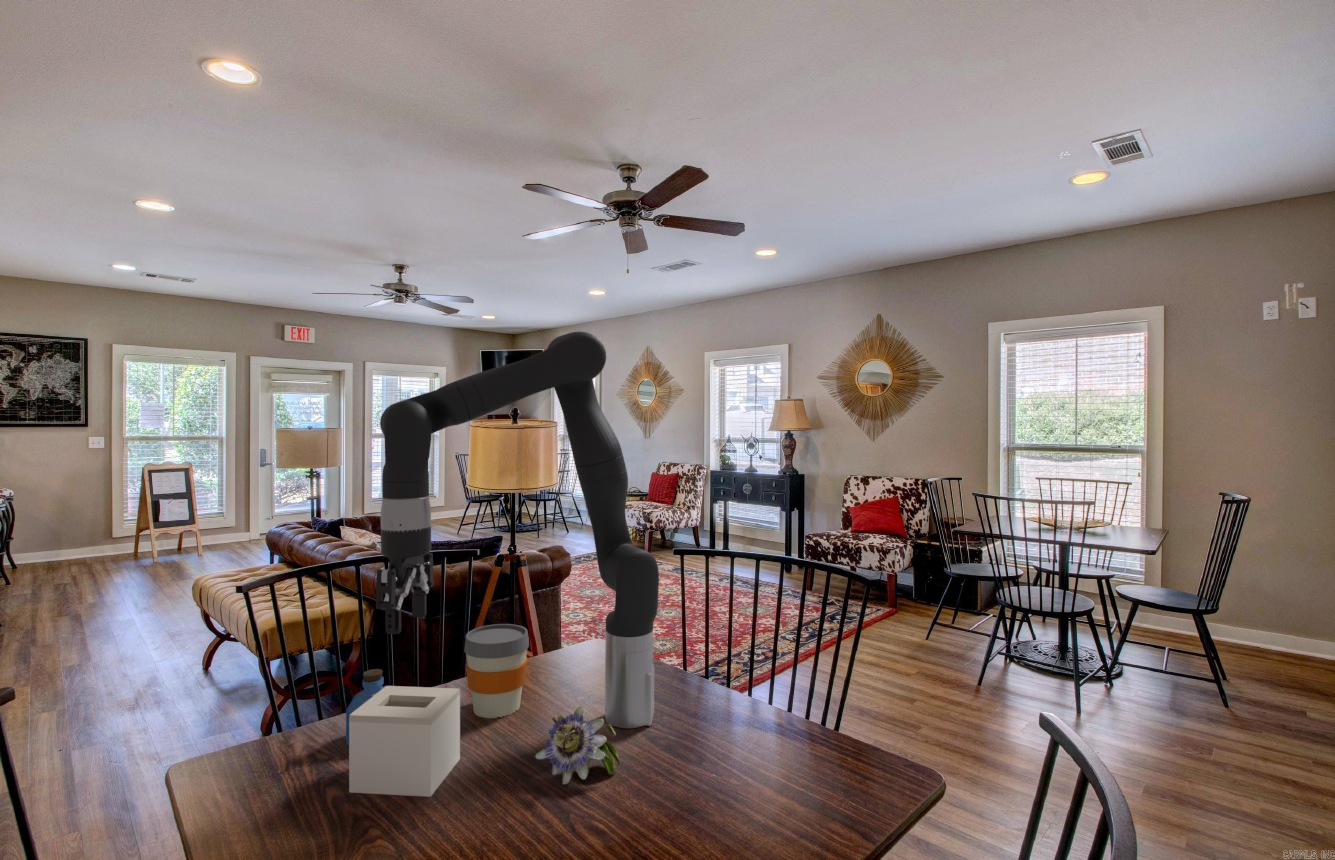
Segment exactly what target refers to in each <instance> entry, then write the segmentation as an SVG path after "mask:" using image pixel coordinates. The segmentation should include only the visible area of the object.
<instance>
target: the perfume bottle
mask: <svg viewBox="0 0 1335 860" xmlns="http://www.w3.org/2000/svg"><path fill="white" fill-rule="evenodd" d="M383 672H384V671H383V670H382V669H379V668H374V669H369V670H367V671H364V672H363V679H362V687H363V688H364V689H363V690H361V691H359V692H357V693H356V694H355V695H354V696H353V699H352V700H351V702H350V703H349V705H348V707H347V708H346V711H345V726H346V727H345V745H346V746H349V715H350V714H351V713H353V712H354V711H355V710H356V709H358V708H359V707H360V706H361V705H363V704H364V703H365V702H366V701H368V700H369V699H370V698H372V697H373V696H374V695H375V694H377V693H378V692H379V691H380V690H382V689H383V688H384V687H385V686H383V685H384V676H382V675H383Z"/></svg>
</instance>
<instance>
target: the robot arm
mask: <svg viewBox="0 0 1335 860" xmlns="http://www.w3.org/2000/svg"><path fill="white" fill-rule="evenodd" d="M606 362H607V351H606V348H605V345H604V344H603V342H602V341H601V339H599V338H598V337H597V336H596V335H594V334H593V333H590V332H586V331H573V332H568V333H564V334H561V335H559V336H557V337H555V338H554V339H553V340H551V342H550V343H549V344H548V346H547V348H546V349H545V350H543V351H541V352H538V353H536V354H534V355H532V356H529V357H526V358H524V359H521V360H518V361H515V362H511V363H508V364H505V365H502V366H497V367H493V368H491V369H487V370H483V371H479V372H477V373H474V374H471V375H469V376H465V377H463V378H461V379H458V380H455V381H453V382H450V383H448V384H445V385H444V386H440V387H439V388H437V389H435V390H433V391H430V392H429V391H428V392H426V393H422V394H418V395H416V396H413V397H409V398H406V399H403V400H400V401H397V402H395V403H393V404H392V403H391V404H390V405H388V406H387V407H386V408H385V410H384V411H383V412H382V414H381V416H380V420H379V421H380V422H379V424H380V425H379V427H380V430H381V432H382V434H383V435H384V459H385V460H384V465H383V468H382V474H381V475H382V476H381V480H382V482H381V489H382V493H381V497H382V499H381V500H382V502H381V507H380V554H381V555H382V556H383V557H385V558H387V559H388V560H389V564H388V568H387V569H383V568H382V569H379V568H378V570H377V572H376V589H375V590H376V591H375V608H376V609H377V610H383V611H384V612H385V613H384V615H385V616H384V618H385V619H384V620H385V621H384V623H385V624H384V626H385V633H386V634H387V635H399V634H401V632H402V609H401V608H402V606H403V602H404V598H406V597H407V596H409V592H410V591H411V593H412V595H411V616H412V617H413V618H425V617H427V614H428V613H427V594H429V593H430V592H429V591H430V588H433V587H434V585H435V584H434V581H435V580H434V559H433V558H434V557H433V556H434V554H433V553H432V552H431V551H432V509H431V502H430V501H431V500H430V473H429V472H430V471H429V459H430V453H431V442H432V434H434V433H437V432H438V431H440V430H441V431H442V430H443V429H446V428H448V427H453V426H458V425H462V424H466V423H468V422H470V421H473V420H475V419H477V418H481V417H483V416H486V415H488V414H490V413H493V412H494V411H497V410H500V409H501V408H504V407H506V406H509V405H511V404H513V403H515V402H518V401H520V400H523V399H525V398H527V397H530V396H534V395H535V394H537V393H538V394H539V393H541V392H543V391H546V390H550V389H554V391H555V394H556V395H557V399H558V401H559V405H560V408H561V410H562V414H563V418H564V423H565V428H566V432H567V437H568V441H569V446H570V449H571V452H572V456H573V461H574V465H575V470H576V474H577V478H578V481H579V484H580V489H581V492H582V494H583V500H584V503H585V507H586V511H587V514H588V517H589V521H590V525H591V528H592V529H591V530H592V533H593V539H594V545H595V546H594V547H595V551H596V552H595V553H596V554H595V555H596V560H597V565H598V571H599V575H600V578H601V580H602V581H603V583H604V584H605V585H606V586H607V588H608V589H611V590H612V591H615V599H614V600H615V603H614V610H612V611H610V612H609V613H608V614H607V615H606V617H605V657H604V658H605V666H604V667H605V668H604V669H605V671H604V673H605V677H604V678H605V679H604V680H605V683H604V684H605V685H604V686H605V687H604V688H605V689H604V690H605V692H604V693H605V694H604V697H605V703H604V705H605V706H604V717H605V718H604V720H605V722H606V723H607V724H608V723H610V724H611V727H615V728H620V729H636V728H640V727H645V726H647V727H650V726H652V721H653V719H654V714H655V664H654V622H655V619H656V617H657V613H658V606H659V586H660V585H659V584H660V575H659V574H660V573H659V565H658V562H657V560H656V558H655V557H654V555H653V554H652V553H651V552H649V551H647V550H645V549H642V548H639V547H636V546H635V545H634V543H633V540H632V537H631V535H630V530H629V527H628V523H627V518H626V505H627V499H628V489H629V477H628V472H627V471H628V470H627V466H626V463H625V458H624V453H623V451H622V447H621V445H620V442H619V440H618V437H617V436H616V433H615V432H614V429H613V428H612V426H611V425H610V423H609V421H608V419H607V418H606V416H605V414H604V412H603V410H602V408H601V406H600V404H599V401H598V397H597V394H596V390H595V385H594V379H595V378H596V377H597V376H599V375H600V373H601V372H602V371H603V369H604V368H605V365H606ZM384 594H385V595H384ZM384 596H385V597H384Z"/></svg>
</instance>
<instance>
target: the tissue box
mask: <svg viewBox="0 0 1335 860" xmlns="http://www.w3.org/2000/svg"><path fill="white" fill-rule="evenodd" d="M383 687H384V688H383V689H382V690H380V691H379V692H378V693H377V694H375V695H374V696H373V697H372V698H370V699H369V700H368V701H366V702H365V703H364V704H363V705H361V706H360V707H359V708H358V709H356V710H355V711H354V712H353V713H351V714H350V715H349V745H348V747H349V748H348V753H349V755H348V757H349V759H348V760H349V762H348V764H349V765H348V769H349V770H348V773H349V774H348V783H349V788H348V791H349V793H351V794H353V793H354V794H374V795H389V796H390V795H392V796H407V797H409V796H410V797H413V796H414V797H427V798H429V797H430V798H431V797H432V796H433V795H434V793H435V792H436V790H437V789H438V788H439V787H440V785H441V784H442V783H443V782H444V780H445V779H446V778H447V777H448V776H449V774H450V773H451V771H452V770H453V768H454V767H456V765H457V763H458V762H459V761H460V760H461V688H454V687H453V688H452V687H451V688H450V687H449V688H448V687H430V686H427V687H426V686H425V687H424V686H400V685H398V686H397V685H385V686H383Z"/></svg>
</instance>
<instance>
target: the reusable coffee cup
mask: <svg viewBox="0 0 1335 860" xmlns="http://www.w3.org/2000/svg"><path fill="white" fill-rule="evenodd" d="M464 640H465V643H464V651H463V652H464V653H465V655H466V663H465V670H466V671H465V673H466V678H467V679H466V680H467V687H468V688H469V690H470V693H471V699H472V700H471V701H472V708H473V713H474V714H475V715H476V716H478V717H481V718H485V719H498V718H497V717H500V718H504V717H507V715H508V716H510V715H513V714H514V713H516V712H517V711H518V710H519V709H520V706H521V698H522V693H523V692H522V690H523V686H524V684H525V683H526V677H527V670H528V669H527V668H528V663H529V662H528V661H529V659H528V657H527V652H528V648H529V647H530V642H529V633H528V629H527V628H526V627H525V626H522V625H518V624H512V623H497V624H496V623H495V624H489V625H482V626H479V627H476V628H474V629H471V630H470V631H468V632H466V634H465V639H464ZM516 710H517V711H516ZM515 711H516V712H515ZM513 712H514V713H513ZM512 713H513V714H512ZM503 716H504V717H503Z"/></svg>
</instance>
